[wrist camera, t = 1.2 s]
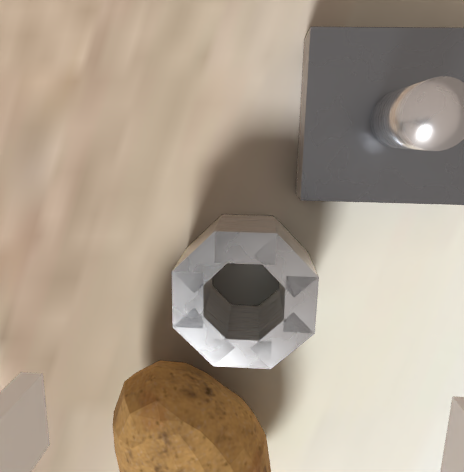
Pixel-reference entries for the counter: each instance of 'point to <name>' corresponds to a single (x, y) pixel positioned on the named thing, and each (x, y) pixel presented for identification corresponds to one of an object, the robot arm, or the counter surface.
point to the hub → (245, 316)
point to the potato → (185, 424)
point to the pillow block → (382, 115)
